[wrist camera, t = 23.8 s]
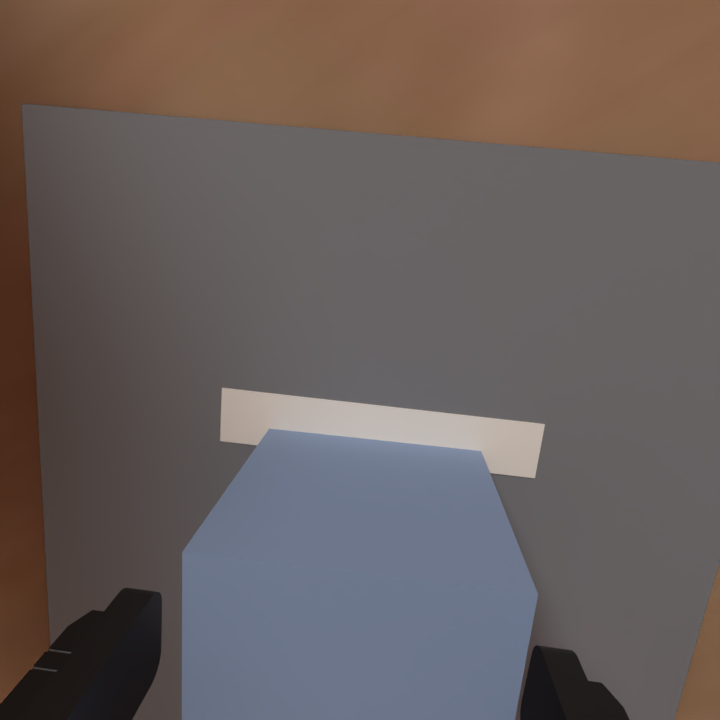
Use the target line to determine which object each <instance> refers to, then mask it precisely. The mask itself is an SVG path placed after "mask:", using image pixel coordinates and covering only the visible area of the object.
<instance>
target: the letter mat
mask: <svg viewBox="0 0 720 720" xmlns="http://www.w3.org/2000/svg"><path fill="white" fill-rule="evenodd" d="M22 120H23V139H24V158H25V177H26V196H27V215H28V234H29V253H30V272H31V291H32V310H33V329H34V349H35V368H36V387H37V406H38V425H39V444H40V463H41V482H42V501H43V520H44V539H45V558H46V577H47V597H48V616H49V635H50V646H51V645H52V644H53V643H54V641H55V640H56V639H57V638H58V637H59V636H60V634H61V633H62V632H63V631H64V630H65V629H66V627H67V626H69V625H70V624H72V623H73V622H75V621H76V620H78V619H79V618H81V617H82V616H84V615H85V614H87V613H88V612H90V611H91V610H97V611H105V609H106V608H107V607H108V606H109V604H110V603H111V602H112V601H113V599H114V598H115V597H116V596H117V594H118V593H119V592H120V591H121V590H122V589H123V588H134V589H141V590H149V591H156V592H160V593H161V596H162V636H161V657H160V662H159V666H158V670H157V673H156V676H155V678H154V680H153V683H152V685H151V687H150V689H149V690H148V692H147V694H146V696H145V698H144V699H143V701H142V703H141V705H140V707H139V708H138V710H137V712H136V714H135V716H134V717H133V719H132V720H182V552H183V550H184V549H185V547H186V546H187V544H188V543H189V542H190V540H191V539H192V537H193V536H194V535H195V533H196V532H197V530H198V529H199V527H200V526H201V525H202V523H203V522H204V520H205V519H206V518H207V516H208V515H209V513H210V512H211V510H212V509H213V508H214V506H215V505H216V503H217V502H218V501H219V499H220V498H221V496H222V495H223V493H224V492H225V491H226V489H227V488H228V486H229V485H230V483H231V482H232V481H233V479H234V478H235V476H236V475H237V474H238V472H239V471H240V469H241V468H242V466H243V465H244V464H245V462H246V461H247V459H248V458H249V457H250V455H251V454H252V452H253V451H254V449H255V448H256V447H257V445H258V444H259V442H260V441H261V440H262V438H263V437H264V435H265V434H266V432H267V431H268V430H269V429H278V430H287V431H297V432H306V433H316V434H325V435H335V436H344V437H354V438H363V439H373V440H382V441H392V442H401V443H410V444H420V445H429V446H439V447H448V448H458V449H467V450H477V451H481V452H482V454H483V457H484V459H485V462H486V464H487V467H488V469H489V472H490V474H491V477H492V479H493V482H494V485H495V487H496V490H497V492H498V495H499V497H500V500H501V502H502V505H503V507H504V510H505V512H506V515H507V517H508V520H509V522H510V525H511V527H512V530H513V532H514V535H515V537H516V540H517V542H518V545H519V548H520V550H521V553H522V555H523V558H524V560H525V563H526V565H527V568H528V570H529V573H530V575H531V578H532V580H533V583H534V585H535V588H536V590H537V593H538V598H537V603H536V609H535V614H534V619H533V625H532V630H531V636H530V641H529V646H528V652H527V657H526V663H525V668H524V673H523V679H522V684H521V690H520V695H519V700H518V706H517V711H516V717H515V720H520V709H521V702H522V697H523V692H524V688H525V683H526V678H527V673H528V669H529V664H530V659H531V655H532V651H533V648H534V647H535V646H536V645H538V646H546V647H553V648H560V649H567V650H572V651H574V652H575V653H576V655H577V657H578V659H579V661H580V664H581V666H582V668H583V670H584V673H585V675H586V677H587V679H588V681H593V682H600V683H602V684H603V685H604V686H605V687H606V688H607V689H608V690H609V691H610V692H611V694H612V695H613V696H614V697H615V698H616V699H617V700H618V701H619V703H620V704H621V705H622V706H623V707H624V709H625V711H626V713H627V715H628V717H629V719H630V720H674V718H675V715H676V711H677V708H678V704H679V701H680V697H681V694H682V690H683V687H684V683H685V680H686V676H687V673H688V670H689V666H690V663H691V659H692V656H693V652H694V649H695V645H696V642H697V638H698V635H699V631H700V628H701V624H702V621H703V617H704V614H705V610H706V607H707V603H708V600H709V596H710V593H711V589H712V586H713V582H714V579H715V575H716V572H717V569H718V565H719V562H720V163H715V162H704V161H692V160H680V159H668V158H657V157H645V156H633V155H621V154H610V153H598V152H586V151H574V150H563V149H551V148H539V147H527V146H516V145H504V144H492V143H480V142H469V141H457V140H445V139H433V138H422V137H410V136H398V135H386V134H375V133H363V132H351V131H339V130H328V129H316V128H304V127H292V126H281V125H269V124H257V123H245V122H234V121H222V120H210V119H198V118H187V117H175V116H163V115H151V114H140V113H128V112H116V111H105V110H93V109H81V108H69V107H58V106H46V105H34V104H22Z"/></svg>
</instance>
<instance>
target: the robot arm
mask: <svg viewBox="0 0 720 720" xmlns="http://www.w3.org/2000/svg"><path fill="white" fill-rule="evenodd" d="M161 636H162V596H161V593H160V592H156V591H149V590H141V589H134V588H123V589H122V590H121V591H120V592H119V593H118V594H117V596H116V597H115V598H114V599H113V601H112V602H111V603H110V604H109V606H108V607H107V608H106V609H105V611H97V610H91V611H90V612H88V613H87V614H85V615H84V616H82V617H81V618H79V619H78V620H76V621H75V622H73V623H72V624H70V625H69V626H67V627H66V629H65V630H64V631H63V632H62V633H61V634H60V636H59V637H58V638H57V639H56V640H55V641H54V643H53V644H52V645H51V646H50V647H49V650H48V652H45V653H44V654H43V655H42V657H41V658H40V659H39V660H38V661H37V662H36V664H35V665H34V668H33V670H30V671H29V672H28V673H27V674H26V675H25V676H24V677H23V679H22V680H21V681H20V682H19V683H18V684H17V686H16V687H15V688H14V689H13V690H12V691H11V693H10V694H9V695H8V696H7V697H6V698H5V700H4V701H3V702H2V703H1V704H0V720H132V719H133V717H134V716H135V714H136V712H137V710H138V708H139V707H140V705H141V703H142V701H143V699H144V698H145V696H146V694H147V692H148V690H149V689H150V687H151V685H152V683H153V680H154V678H155V676H156V673H157V670H158V666H159V662H160V657H161ZM520 720H630V719H629V717H628V715H627V713H626V711H625V709H624V707H623V706H622V705H621V704H620V703H619V701H618V700H617V699H616V698H615V697H614V696H613V695H612V694H611V692H610V691H609V690H608V689H607V688H606V687H605V686H604V685H603V684H602V683H600V682H593V681H588V679H587V677H586V675H585V673H584V670H583V668H582V666H581V664H580V661H579V659H578V657H577V655H576V653H575V652H574V651H572V650H567V649H560V648H553V647H546V646H538V645H536V646H535V647H534V648H533V651H532V655H531V659H530V664H529V669H528V673H527V678H526V683H525V688H524V692H523V697H522V702H521V709H520Z"/></svg>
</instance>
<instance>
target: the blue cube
mask: <svg viewBox="0 0 720 720" xmlns="http://www.w3.org/2000/svg"><path fill="white" fill-rule="evenodd" d="M537 598H538V593H537V590H536V588H535V585H534V583H533V580H532V578H531V575H530V573H529V570H528V568H527V565H526V563H525V560H524V558H523V555H522V553H521V550H520V548H519V545H518V542H517V540H516V537H515V535H514V532H513V530H512V527H511V525H510V522H509V520H508V517H507V515H506V512H505V510H504V507H503V505H502V502H501V500H500V497H499V495H498V492H497V490H496V487H495V485H494V482H493V479H492V477H491V474H490V472H489V469H488V467H487V464H486V462H485V459H484V457H483V454H482V452H481V451H477V450H467V449H458V448H448V447H439V446H429V445H420V444H410V443H401V442H392V441H382V440H373V439H363V438H354V437H344V436H335V435H325V434H316V433H306V432H297V431H287V430H278V429H269V430H268V431H267V432H266V434H265V435H264V437H263V438H262V440H261V441H260V442H259V444H258V445H257V447H256V448H255V449H254V451H253V452H252V454H251V455H250V457H249V458H248V459H247V461H246V462H245V464H244V465H243V466H242V468H241V469H240V471H239V472H238V474H237V475H236V476H235V478H234V479H233V481H232V482H231V483H230V485H229V486H228V488H227V489H226V491H225V492H224V493H223V495H222V496H221V498H220V499H219V501H218V502H217V503H216V505H215V506H214V508H213V509H212V510H211V512H210V513H209V515H208V516H207V518H206V519H205V520H204V522H203V523H202V525H201V526H200V527H199V529H198V530H197V532H196V533H195V535H194V536H193V537H192V539H191V540H190V542H189V543H188V544H187V546H186V547H185V549H184V550H183V552H182V720H515V717H516V711H517V706H518V700H519V695H520V690H521V684H522V679H523V673H524V668H525V663H526V657H527V652H528V646H529V641H530V636H531V630H532V625H533V619H534V614H535V609H536V603H537Z"/></svg>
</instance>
